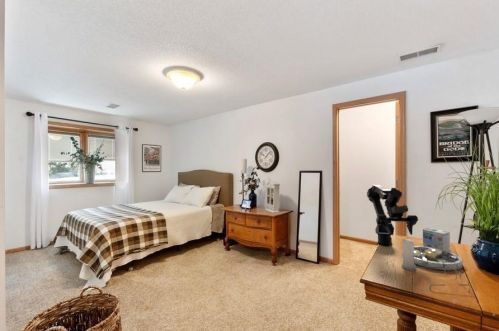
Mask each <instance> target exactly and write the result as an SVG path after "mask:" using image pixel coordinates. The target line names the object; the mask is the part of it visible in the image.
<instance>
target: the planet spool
mask: <svg viewBox="0 0 499 331" xmlns="http://www.w3.org/2000/svg"><path fill="white" fill-rule="evenodd" d="M414 246H415V241H414V239H409V238H403V239H402V263H401V268H402V269H404V270H407V271H411V268H412V267H417V265H414ZM416 270H417V268H412V271H411V272H413V271H416Z"/></svg>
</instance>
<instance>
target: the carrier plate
mask: <svg viewBox="0 0 499 331" xmlns="http://www.w3.org/2000/svg"><path fill="white" fill-rule="evenodd" d="M414 265H415V266H416V267H420V266H421V267H444V266H445V265H446V266H445V271H444V268H427V269H429V270H434V271H442V272H458V271H460V270H462V269H463V267H464V266H463V259H462V257H460V256H459V255H458V254H456V253H453V252H451V251H446V250H441V249H437V248H433V247H424V246H423V245H414ZM448 265H449V266H448ZM450 266H451V267H452V268H451V267H450ZM453 268H454V269H456V270H454V269H453Z"/></svg>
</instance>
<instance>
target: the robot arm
mask: <svg viewBox="0 0 499 331" xmlns="http://www.w3.org/2000/svg"><path fill="white" fill-rule="evenodd" d="M371 186H372V187H370V188H368V189H367V192H366V197H367V198H368V200H369V202H370V203H372V204H373V208H374V211H375V214H376V219H375V221H376V224H377V225H376V227H375V234H377V242H376V244H377V245H380V246H384V247H390V246H392V245H393V243H392V242H393V241H392V238H393V237H392V236H394V232H395V227H394V225H393V223H392V222H402V223H403V222H404V223H405V224H406V227H407V230H408V232H409V234H410V235H411V236H413V227H414V226H415V225H416V224H417V223H418V221H419V218H418V216H417V215H416V214H408V215H407V217H403V216H404V213H405V214H406V213H407V212H408V211H409V207H408V205H406V204H404V205H402V206H401V205H398V203H400V201H401V198H402V196H403V193H402V192H401V191H400V190H399V189H397V188H396V187H391V189H389V188H386V187H384V186H382V185H381V184H372V185H371ZM381 200H384V207H385V208H386V211H387V215H388V216H387V215H386V212H385V211H384V207H383V205H382V202H381Z"/></svg>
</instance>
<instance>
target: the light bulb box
mask: <svg viewBox="0 0 499 331" xmlns="http://www.w3.org/2000/svg"><path fill="white" fill-rule="evenodd" d="M450 233H451V232H450V231H448V230H447V231H446V230H442V229H437V228H433V227H427V228H426V227H425V228H423V229H422V246H424V247H433V248H437V249H441V250H446V251H449V252H451V234H450Z"/></svg>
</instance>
